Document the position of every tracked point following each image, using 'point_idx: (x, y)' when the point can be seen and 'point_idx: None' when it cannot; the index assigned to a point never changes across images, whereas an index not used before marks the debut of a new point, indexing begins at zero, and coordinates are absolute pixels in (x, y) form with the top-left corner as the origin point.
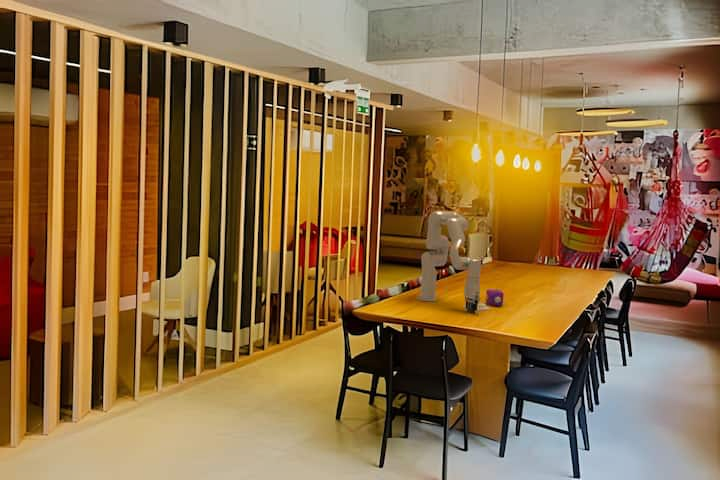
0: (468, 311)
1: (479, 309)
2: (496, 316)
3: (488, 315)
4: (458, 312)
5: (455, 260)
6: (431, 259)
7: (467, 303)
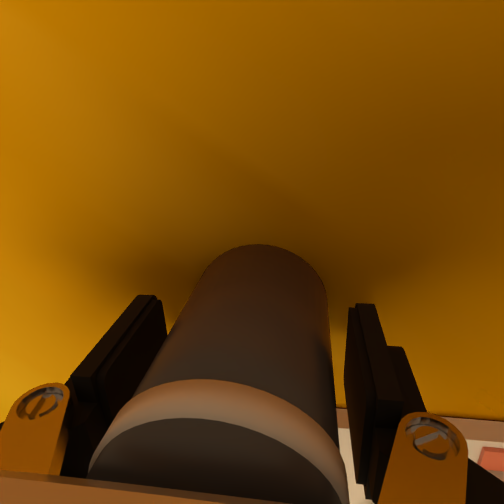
0: (233, 256)
1: None
2: None
3: None
4: (298, 69)
5: None
6: None
7: (268, 344)
